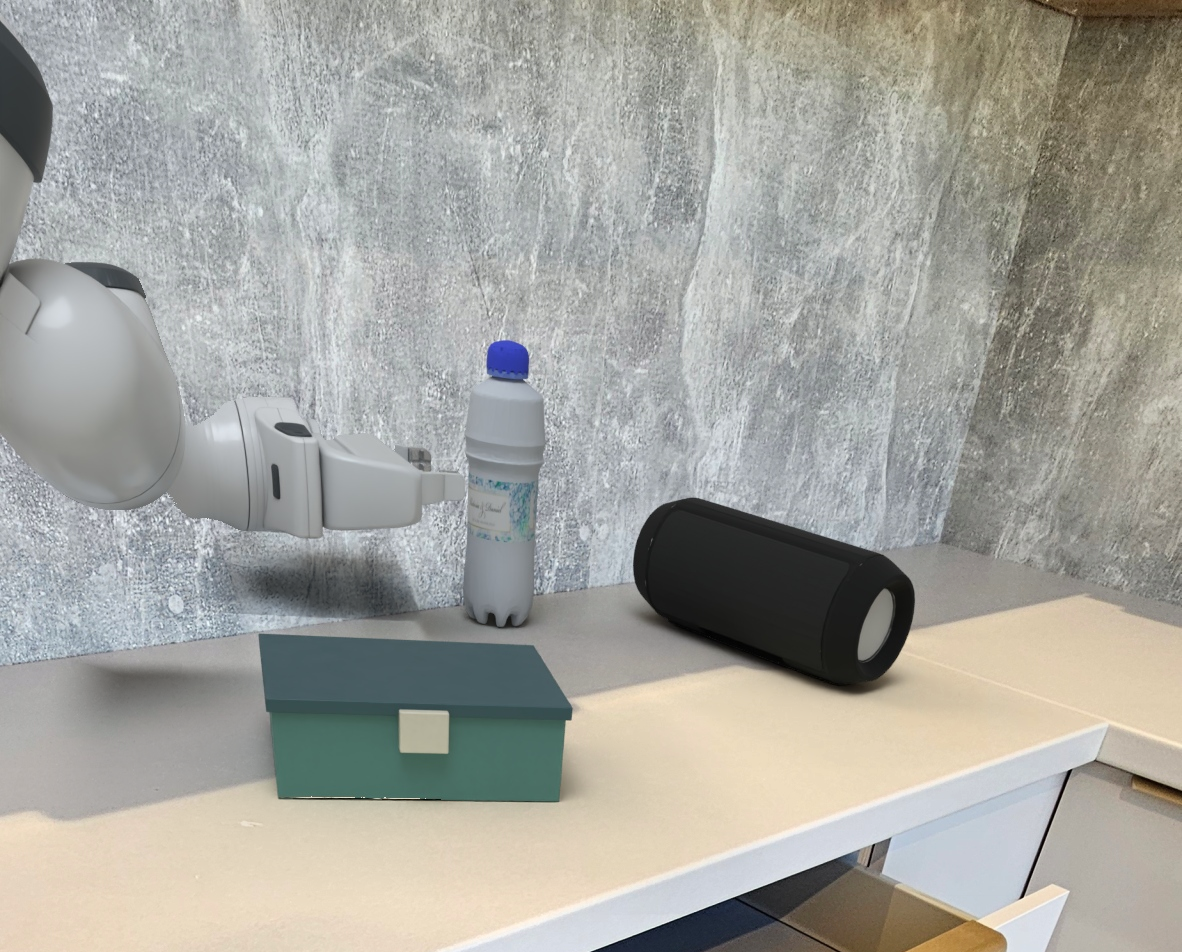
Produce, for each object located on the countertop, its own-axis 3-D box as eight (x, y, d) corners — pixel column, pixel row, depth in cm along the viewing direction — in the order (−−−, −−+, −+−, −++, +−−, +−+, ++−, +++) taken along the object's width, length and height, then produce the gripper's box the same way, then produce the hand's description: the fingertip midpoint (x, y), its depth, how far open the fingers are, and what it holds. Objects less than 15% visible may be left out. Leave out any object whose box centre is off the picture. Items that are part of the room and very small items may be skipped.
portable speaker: (901, 685, 105) (934, 556, 98) (836, 702, 100) (866, 567, 93) (688, 607, 117) (705, 487, 110) (619, 618, 112) (632, 494, 105)
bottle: (444, 616, 106) (449, 333, 93) (491, 604, 110) (502, 332, 97) (503, 635, 104) (517, 348, 90) (548, 623, 108) (568, 346, 94)
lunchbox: (273, 803, 73) (265, 701, 69) (265, 725, 83) (258, 630, 79) (566, 806, 78) (574, 710, 73) (526, 731, 87) (532, 642, 83)
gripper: (254, 484, 102) (411, 490, 107) (306, 544, 89) (481, 548, 93) (247, 393, 98) (410, 403, 102) (300, 443, 84) (485, 452, 89)
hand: (445, 473), depth 98 cm, fingers open, 8 cm apart
